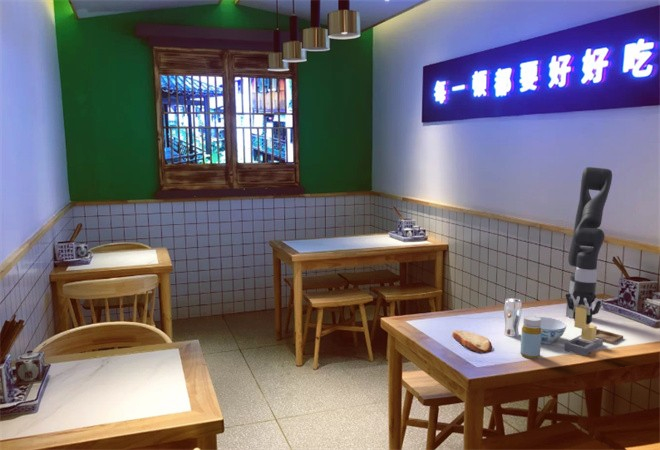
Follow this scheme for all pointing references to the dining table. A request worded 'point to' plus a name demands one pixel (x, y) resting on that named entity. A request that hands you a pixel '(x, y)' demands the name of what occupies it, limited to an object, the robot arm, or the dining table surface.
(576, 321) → the butter block
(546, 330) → the chinaware
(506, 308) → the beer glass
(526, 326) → the bottle
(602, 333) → the tray
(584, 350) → the butter dish
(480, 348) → the slice of bread
